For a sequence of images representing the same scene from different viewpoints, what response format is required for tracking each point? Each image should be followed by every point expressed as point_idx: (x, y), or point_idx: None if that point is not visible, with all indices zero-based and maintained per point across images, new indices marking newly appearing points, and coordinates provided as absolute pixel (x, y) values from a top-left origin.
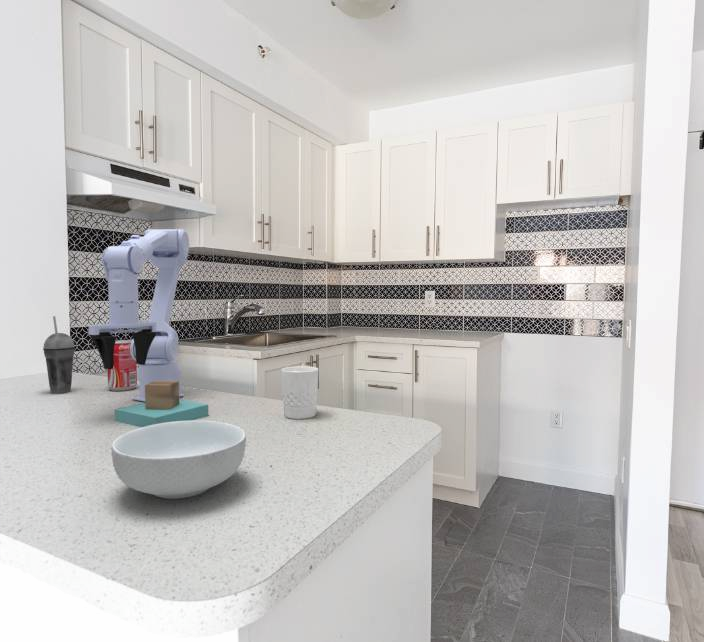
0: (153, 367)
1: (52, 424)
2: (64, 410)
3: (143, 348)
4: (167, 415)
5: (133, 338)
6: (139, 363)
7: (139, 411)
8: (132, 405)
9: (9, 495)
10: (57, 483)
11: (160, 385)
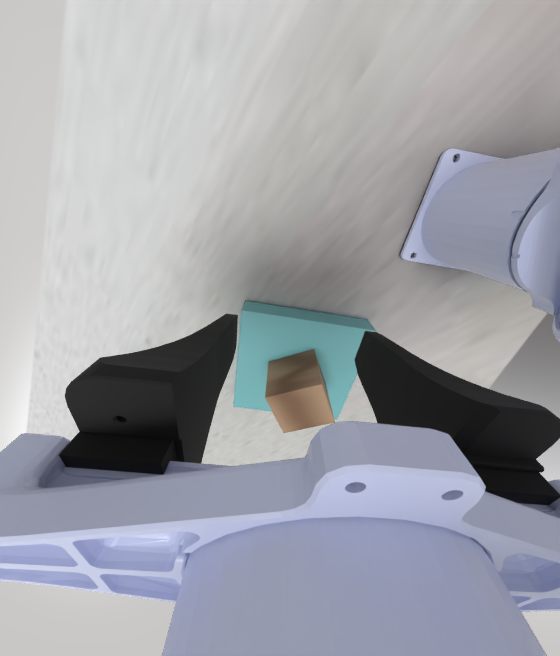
0: (500, 269)
1: (153, 197)
2: (256, 43)
3: (379, 411)
4: (256, 408)
5: (445, 389)
6: (361, 346)
7: (251, 363)
8: (283, 317)
9: (30, 415)
10: (72, 425)
11: (277, 420)
